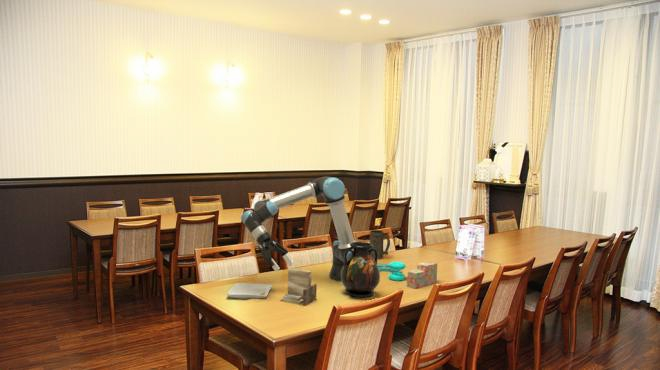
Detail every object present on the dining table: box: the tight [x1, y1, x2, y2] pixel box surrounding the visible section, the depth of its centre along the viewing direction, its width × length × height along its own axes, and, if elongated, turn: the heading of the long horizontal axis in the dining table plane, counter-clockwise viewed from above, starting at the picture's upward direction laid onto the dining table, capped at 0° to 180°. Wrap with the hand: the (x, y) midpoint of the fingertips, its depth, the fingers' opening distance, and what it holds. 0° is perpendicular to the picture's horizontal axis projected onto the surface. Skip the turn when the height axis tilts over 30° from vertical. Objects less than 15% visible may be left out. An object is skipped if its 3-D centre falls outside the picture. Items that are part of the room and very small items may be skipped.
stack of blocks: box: [406, 261, 438, 290], centre depth 293 cm, size 21×6×12 cm, turn 134°
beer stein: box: [369, 229, 391, 260], centre depth 358 cm, size 15×11×20 cm
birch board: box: [287, 267, 313, 297], centre depth 256 cm, size 4×12×15 cm, turn 64°
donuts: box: [388, 261, 406, 282], centre depth 303 cm, size 10×10×10 cm
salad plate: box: [226, 282, 274, 300], centre depth 264 cm, size 21×21×3 cm
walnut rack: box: [279, 283, 318, 307], centre depth 254 cm, size 12×15×9 cm
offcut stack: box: [282, 293, 303, 306], centre depth 251 cm, size 4×10×3 cm, turn 64°
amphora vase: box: [340, 241, 381, 299], centre depth 269 cm, size 22×22×28 cm
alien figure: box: [377, 263, 403, 274], centre depth 324 cm, size 20×2×20 cm
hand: (284, 267), depth 259 cm, fingers open, 13 cm apart
